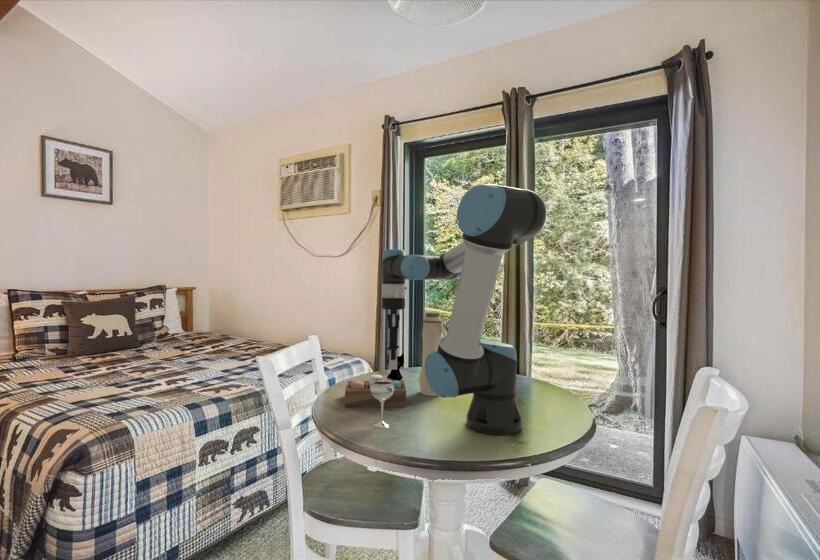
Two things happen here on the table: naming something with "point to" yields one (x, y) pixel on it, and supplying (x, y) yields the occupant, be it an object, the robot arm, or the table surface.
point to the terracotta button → (357, 384)
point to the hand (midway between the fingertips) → (393, 368)
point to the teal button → (397, 384)
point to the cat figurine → (396, 373)
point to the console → (366, 399)
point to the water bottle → (430, 345)
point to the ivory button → (374, 378)
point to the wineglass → (382, 396)
